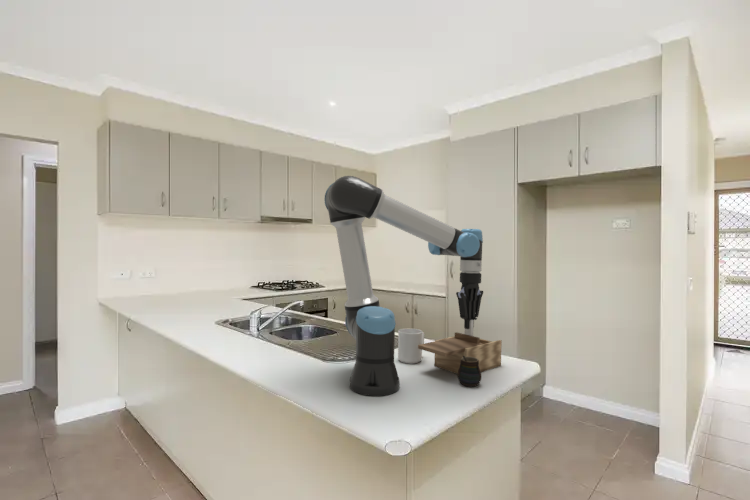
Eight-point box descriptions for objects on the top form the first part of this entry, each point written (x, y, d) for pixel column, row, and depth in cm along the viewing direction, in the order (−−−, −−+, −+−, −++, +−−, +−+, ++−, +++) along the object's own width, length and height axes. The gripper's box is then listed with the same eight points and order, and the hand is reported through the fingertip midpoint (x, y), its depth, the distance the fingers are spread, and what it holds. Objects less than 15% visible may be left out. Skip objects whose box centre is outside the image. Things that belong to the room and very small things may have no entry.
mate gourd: (484, 383, 125) (485, 351, 125) (476, 391, 118) (477, 357, 118) (462, 378, 129) (462, 348, 128) (453, 385, 122) (454, 353, 122)
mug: (410, 366, 141) (411, 334, 141) (392, 360, 148) (393, 330, 147) (432, 359, 149) (432, 330, 149) (414, 354, 156) (414, 326, 156)
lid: (445, 356, 125) (445, 346, 125) (417, 348, 134) (418, 339, 134) (483, 347, 138) (483, 337, 138) (456, 340, 147) (456, 331, 147)
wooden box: (466, 376, 131) (466, 349, 130) (434, 366, 141) (434, 340, 141) (501, 365, 143) (501, 340, 143) (469, 356, 154) (469, 333, 154)
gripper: (467, 273, 135) (465, 342, 135) (490, 272, 143) (488, 337, 144) (450, 271, 141) (448, 337, 141) (473, 270, 149) (471, 333, 149)
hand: (468, 337), depth 142 cm, fingers closed
